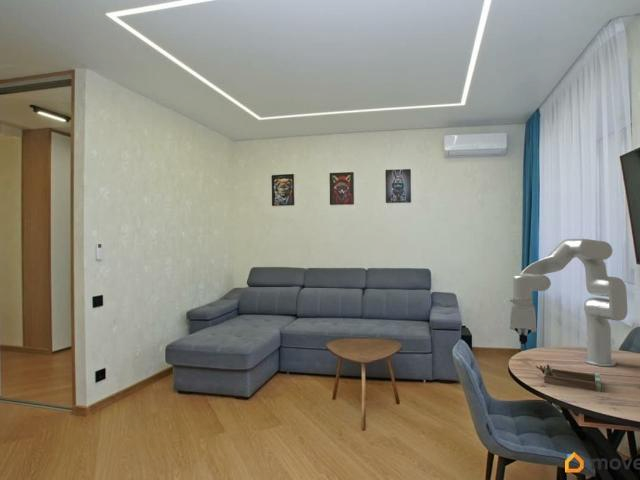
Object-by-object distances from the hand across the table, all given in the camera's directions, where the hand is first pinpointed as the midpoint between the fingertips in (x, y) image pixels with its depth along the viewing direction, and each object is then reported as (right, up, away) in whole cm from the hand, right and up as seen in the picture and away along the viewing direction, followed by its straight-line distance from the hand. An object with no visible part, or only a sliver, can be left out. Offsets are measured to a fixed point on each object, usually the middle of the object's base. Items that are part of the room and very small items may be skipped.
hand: (523, 343), depth 175 cm
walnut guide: (+15, -14, -9) cm, 22 cm away
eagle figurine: (+9, -14, -5) cm, 17 cm away
